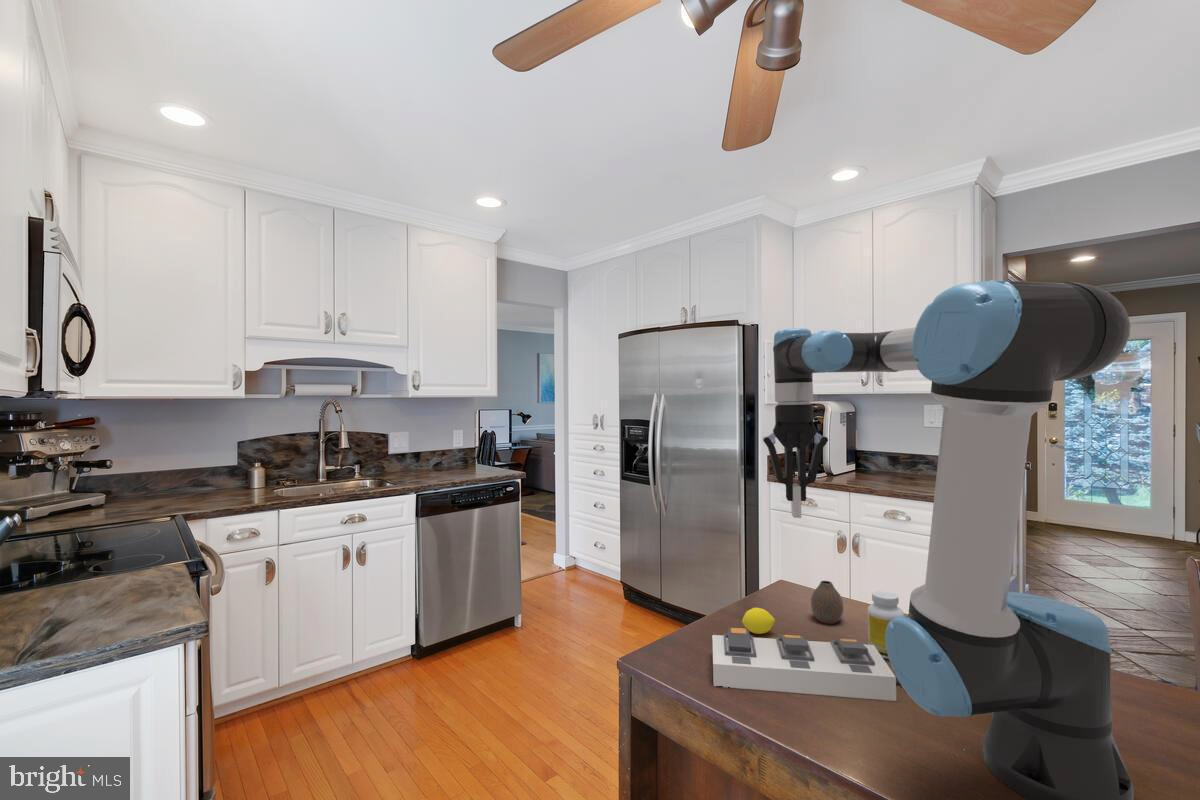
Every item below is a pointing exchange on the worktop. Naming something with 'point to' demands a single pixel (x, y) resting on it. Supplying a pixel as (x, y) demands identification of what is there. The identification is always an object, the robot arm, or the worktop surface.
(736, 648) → the rocker
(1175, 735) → the worktop surface
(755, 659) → the rocker switch box
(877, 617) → the pill bottle
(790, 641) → the dark grey flat block
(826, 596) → the vase
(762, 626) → the lemon
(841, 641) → the rocker
